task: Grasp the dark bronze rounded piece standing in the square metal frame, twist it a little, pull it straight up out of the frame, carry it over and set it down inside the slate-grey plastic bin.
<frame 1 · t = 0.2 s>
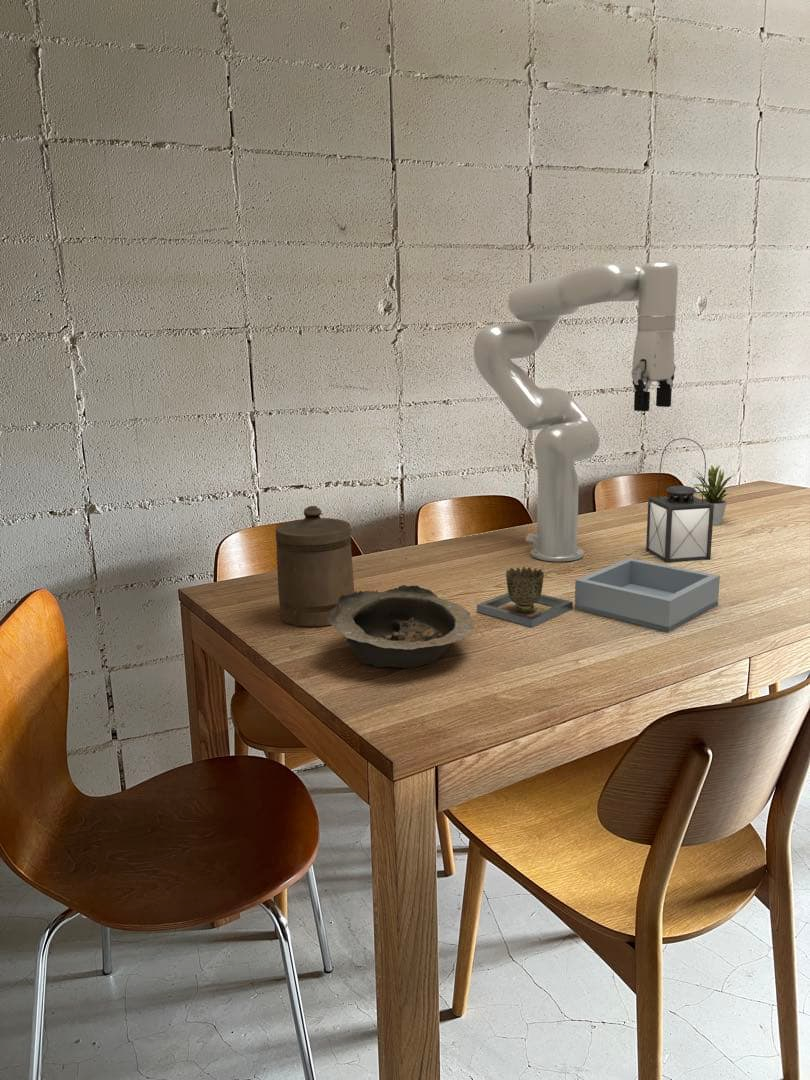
hand: (652, 408, 178), 37 cm above the table, tool pointing down, fingers open, 9 cm apart
dark bronze rounded piece: (524, 611, 167), on the table
wooden container: (317, 615, 168), on the table
bin: (646, 606, 167), on the table
lantern: (677, 555, 202), on the table
house plant: (708, 523, 232), on the table
square metal frame: (524, 610, 167), on the table
stone bowl: (403, 654, 148), on the table
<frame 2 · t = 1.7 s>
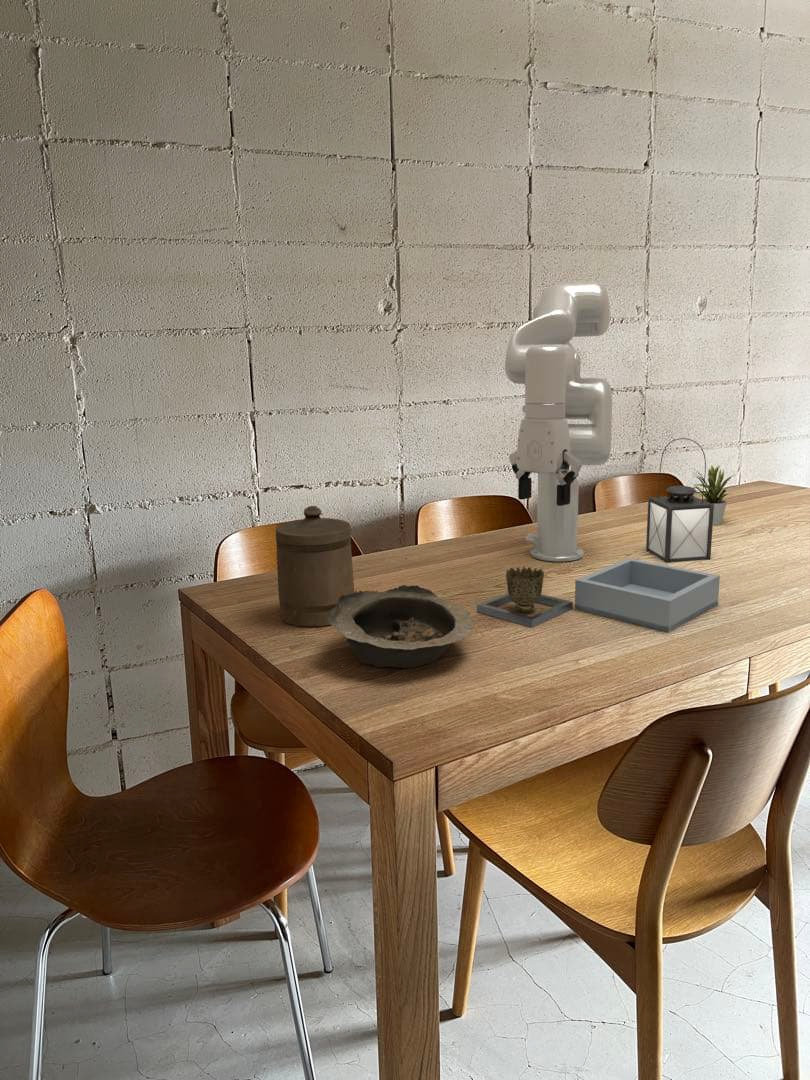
hand: (543, 501, 163), 21 cm above the table, tool pointing down, fingers open, 9 cm apart
nothing on the table moved.
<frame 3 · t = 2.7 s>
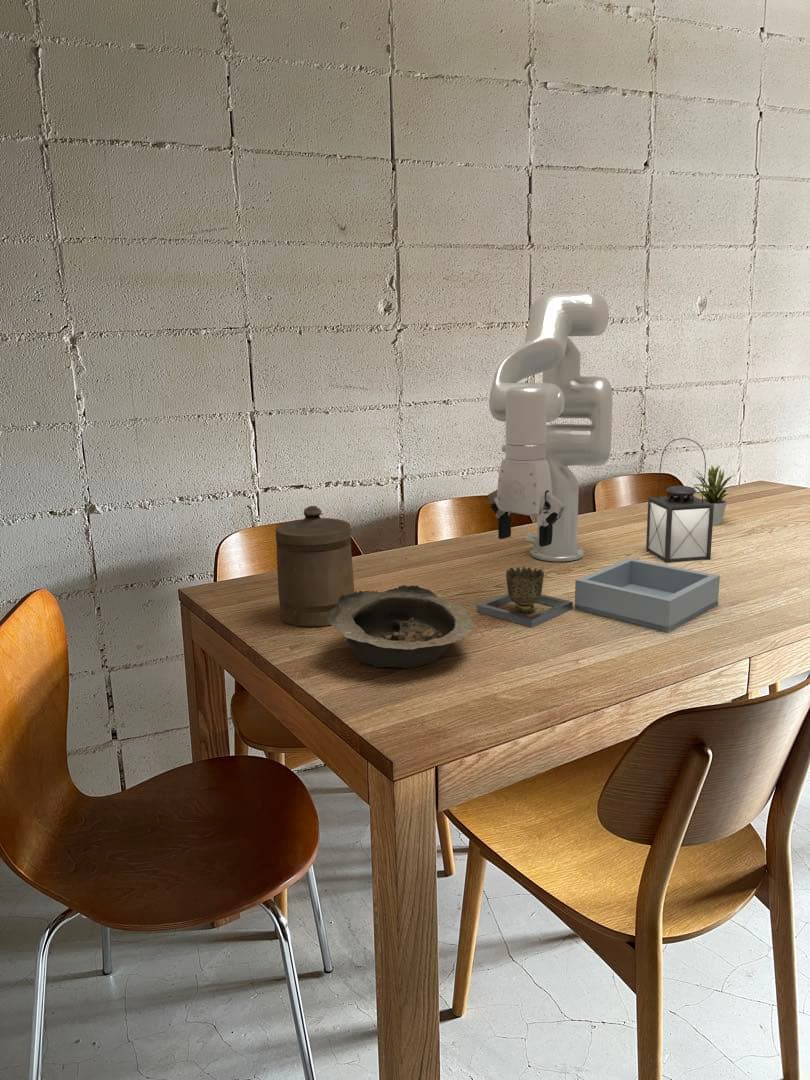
hand: (524, 541, 163), 14 cm above the table, tool pointing down, fingers open, 9 cm apart
nothing on the table moved.
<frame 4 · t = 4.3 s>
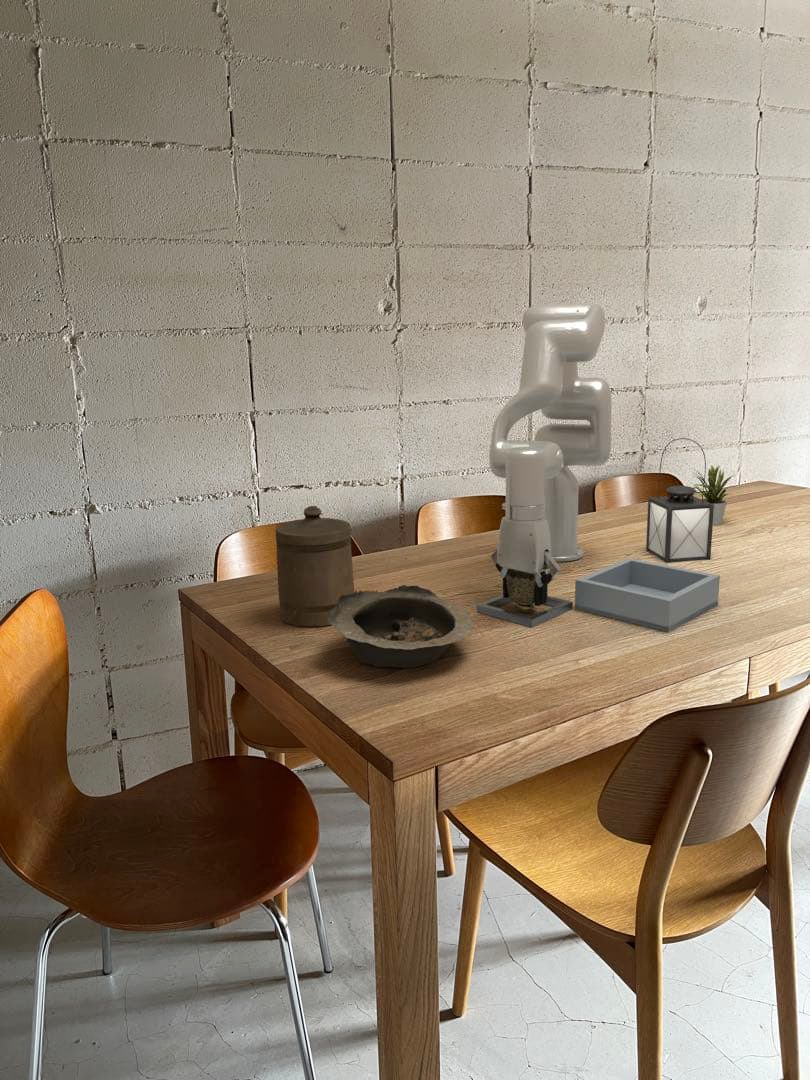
hand: (524, 599, 166), 2 cm above the table, tool pointing down, fingers closed on dark bronze rounded piece, 7 cm apart
dark bronze rounded piece: (524, 611, 167), on the table, touching gripper
everything else where it was.
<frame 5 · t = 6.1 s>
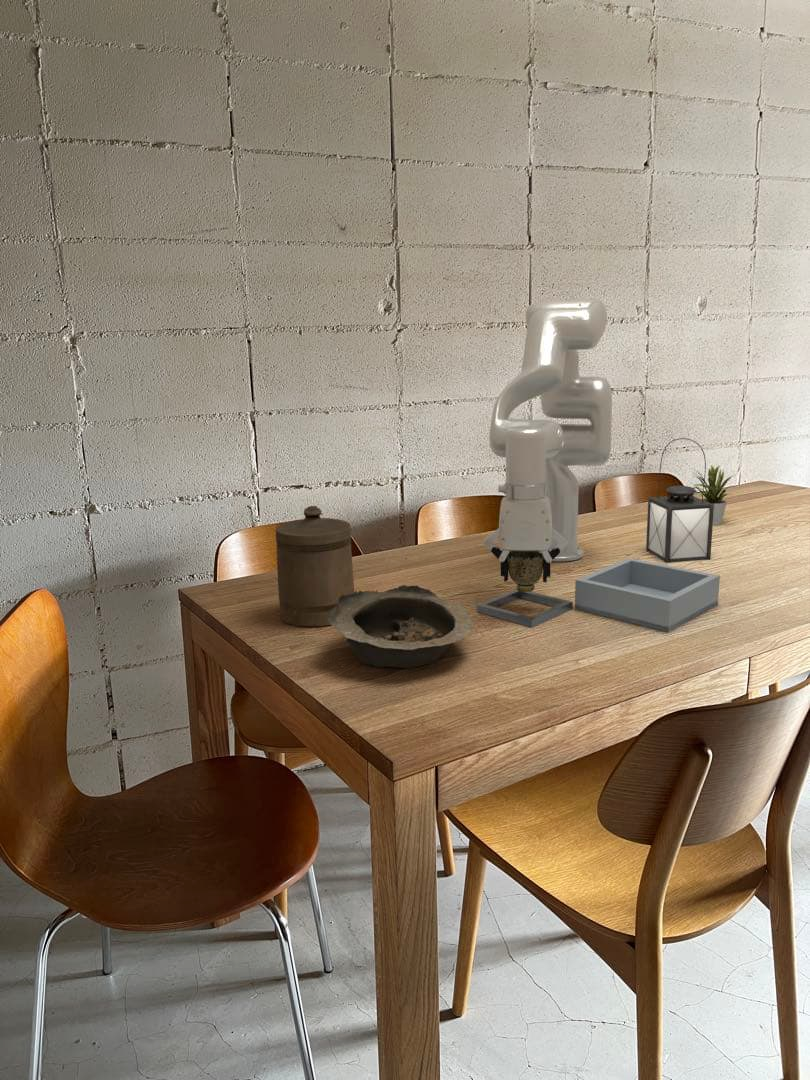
hand: (525, 579, 166), 6 cm above the table, tool pointing down, fingers closed on dark bronze rounded piece, 7 cm apart
dark bronze rounded piece: (525, 591, 166), point 4 cm above the table, touching gripper
everything else where it was.
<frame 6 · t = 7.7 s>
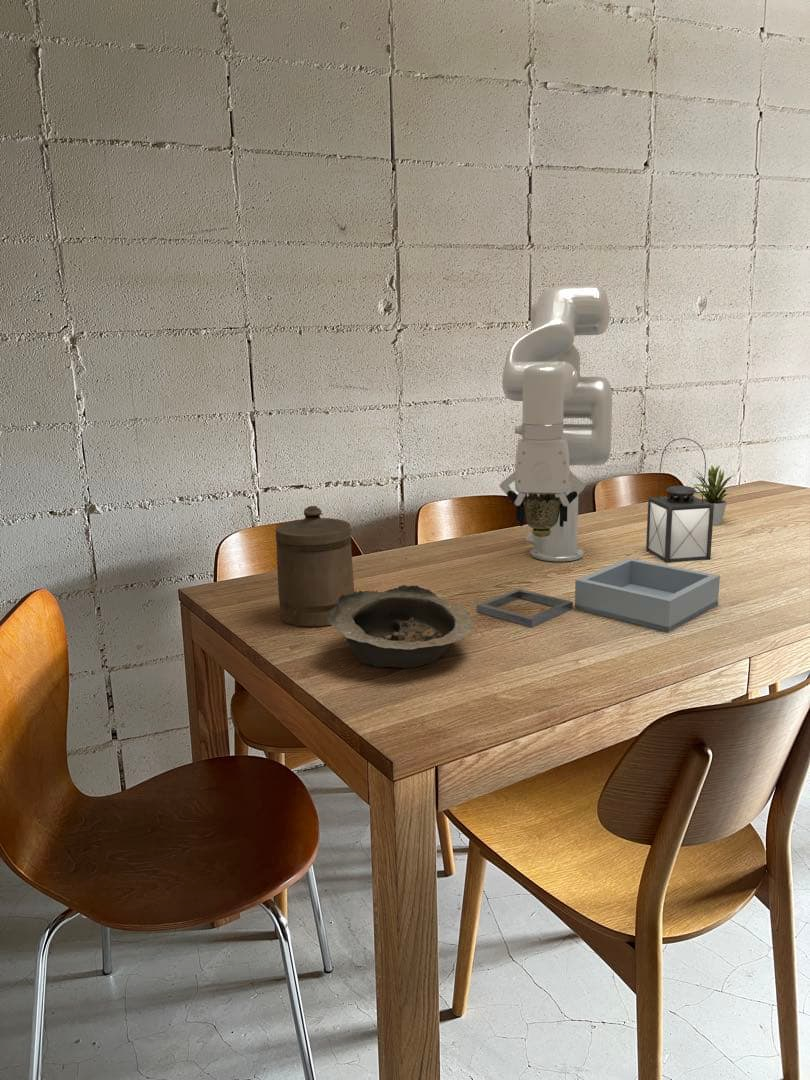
hand: (541, 524, 162), 17 cm above the table, tool pointing down, fingers closed on dark bronze rounded piece, 7 cm apart
dark bronze rounded piece: (541, 536, 163), point 15 cm above the table, touching gripper
everything else where it was.
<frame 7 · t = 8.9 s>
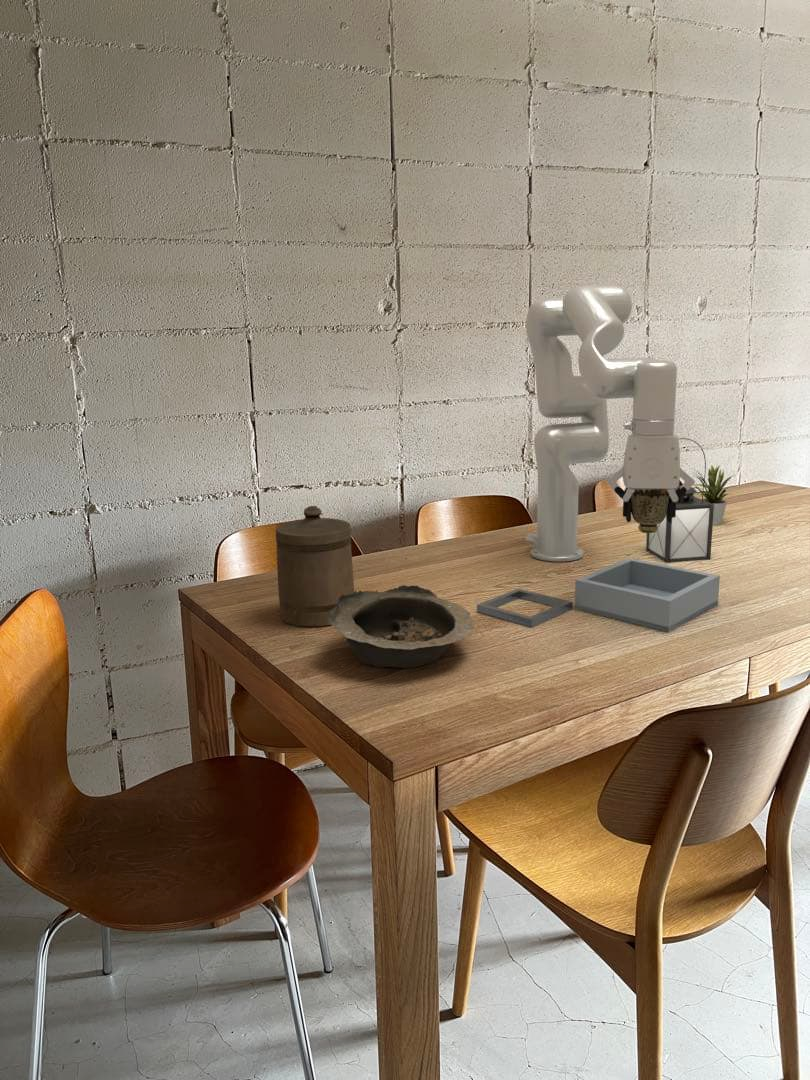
hand: (648, 520, 162), 18 cm above the table, tool pointing down, fingers closed on dark bronze rounded piece, 7 cm apart
dark bronze rounded piece: (648, 532, 163), point 15 cm above the table, touching gripper
everything else where it was.
when the fingers open (5 cm above the table, at t = 12.2 s): dark bronze rounded piece drops 2 cm, resting on bin.
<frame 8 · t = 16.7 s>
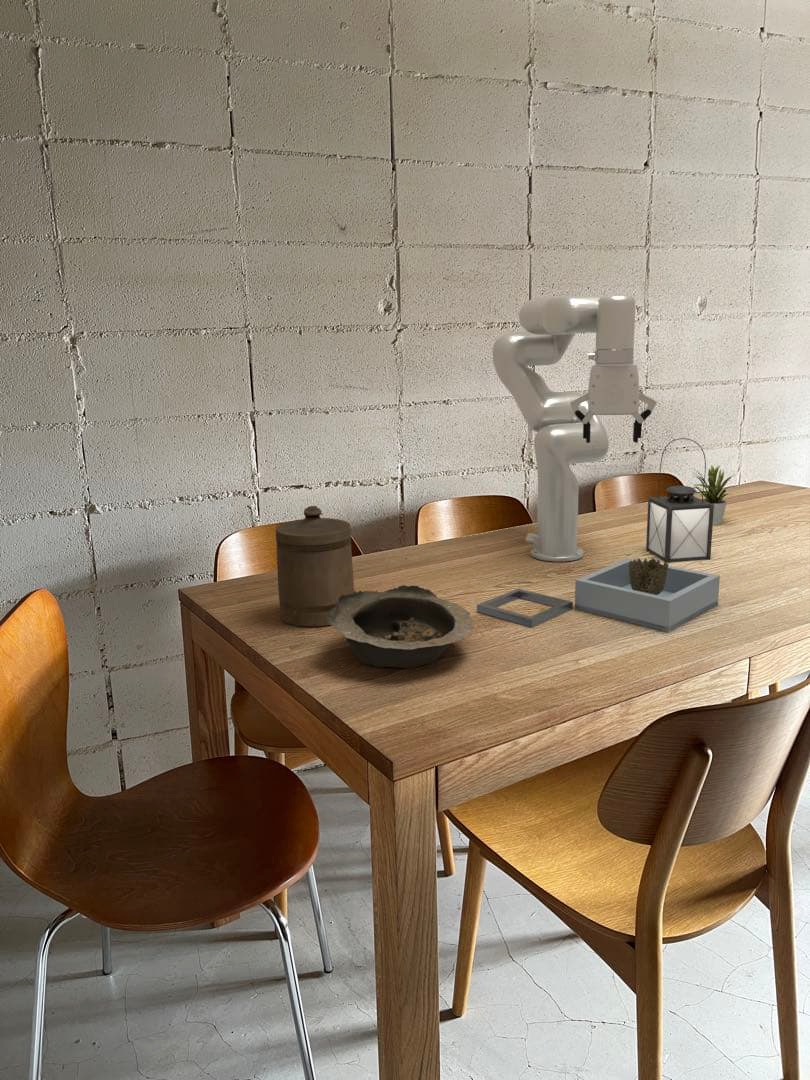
hand: (611, 441, 176), 30 cm above the table, tool pointing down, fingers open, 9 cm apart
dark bronze rounded piece: (646, 602, 166), point 1 cm above the table, touching bin
everything else where it was.
at the end: dark bronze rounded piece inside the target area on the bin (0.0 cm from its centre), point 0.8 cm above the bin's base; the gripper is holding nothing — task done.
